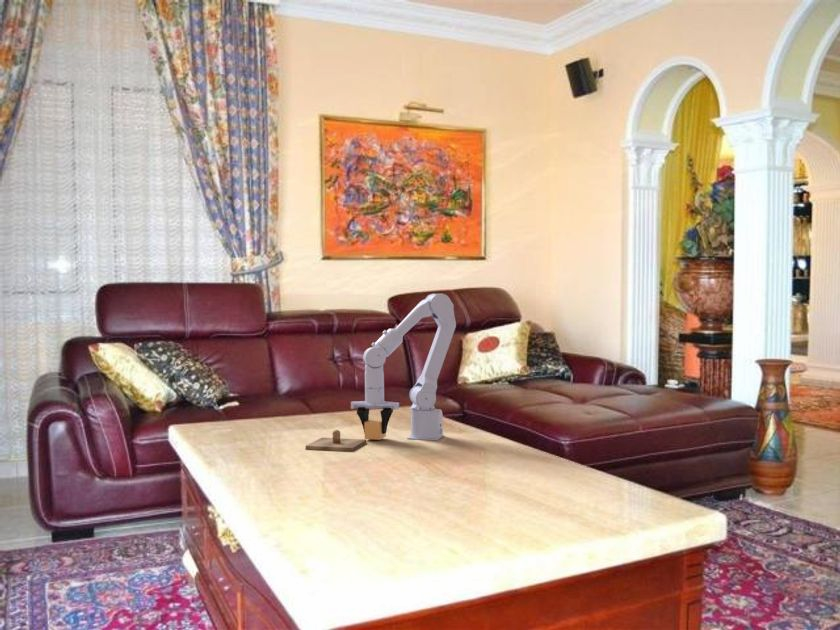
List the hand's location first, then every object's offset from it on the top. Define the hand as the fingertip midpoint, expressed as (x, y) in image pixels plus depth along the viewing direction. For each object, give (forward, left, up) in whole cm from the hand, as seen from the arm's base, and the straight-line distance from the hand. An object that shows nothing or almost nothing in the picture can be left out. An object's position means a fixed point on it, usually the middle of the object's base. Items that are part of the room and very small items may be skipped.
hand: (375, 432), depth 222 cm
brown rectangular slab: (+8, +11, -2) cm, 14 cm away
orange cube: (0, 0, -1) cm, 1 cm away
